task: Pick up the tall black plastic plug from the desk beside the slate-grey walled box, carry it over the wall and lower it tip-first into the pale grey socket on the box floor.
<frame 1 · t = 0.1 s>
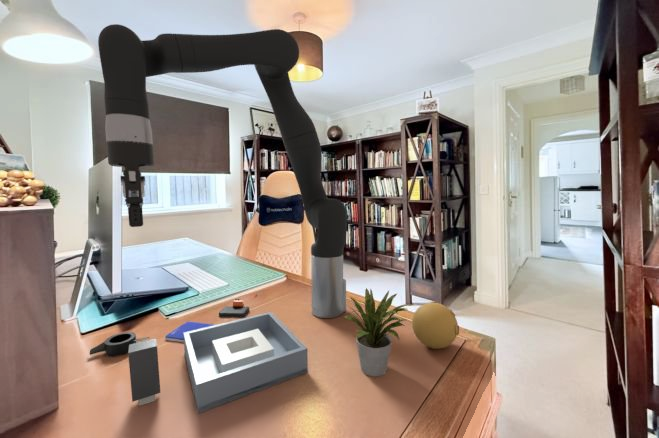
hand: (136, 224, 59), 29 cm above the table, tool pointing down, fingers open, 8 cm apart
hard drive: (198, 337, 73), on the table
walled box: (242, 362, 61), on the table
house plant: (373, 373, 58), on the table
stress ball: (434, 347, 67), on the table
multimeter: (237, 306, 92), on the table
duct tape: (121, 351, 67), on the table
plug: (147, 400, 51), on the table
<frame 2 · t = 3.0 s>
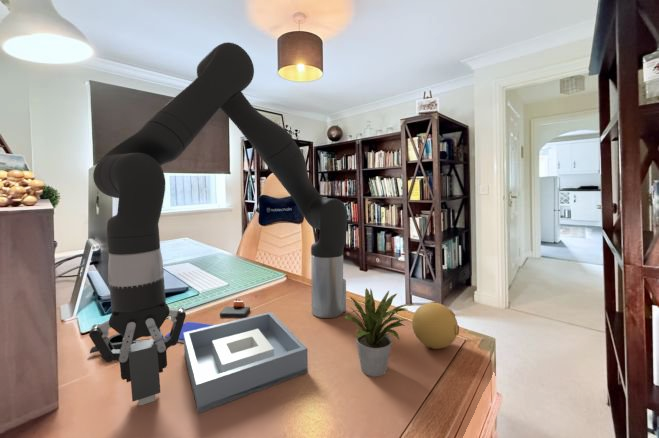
hand: (145, 374, 50), 5 cm above the table, tool pointing down, fingers closed on plug, 4 cm apart
plug: (147, 399, 51), on the table, touching gripper
everything else where it was.
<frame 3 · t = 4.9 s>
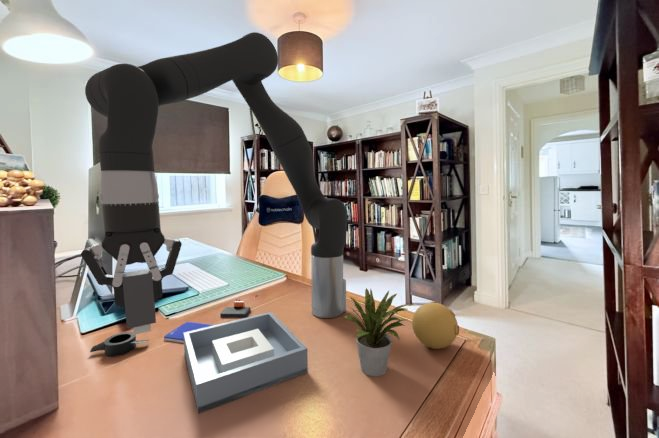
hand: (140, 303, 49), 17 cm above the table, tool pointing down, fingers closed on plug, 4 cm apart
plug: (142, 330, 49), point 13 cm above the table, touching gripper
everything else where it was.
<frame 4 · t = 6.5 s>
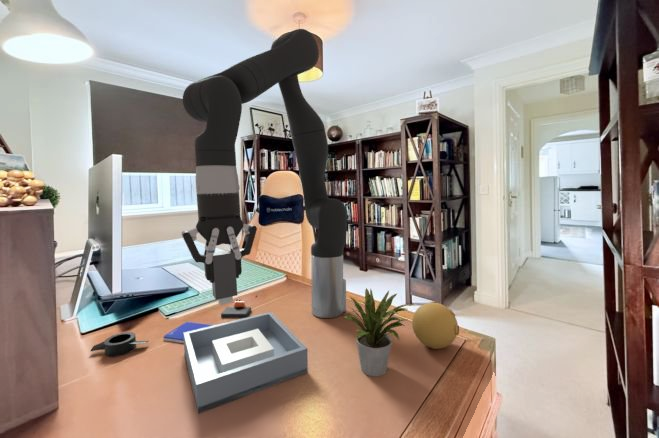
hand: (223, 279, 57), 19 cm above the table, tool pointing down, fingers closed on plug, 4 cm apart
plug: (225, 302, 58), point 14 cm above the table, touching gripper
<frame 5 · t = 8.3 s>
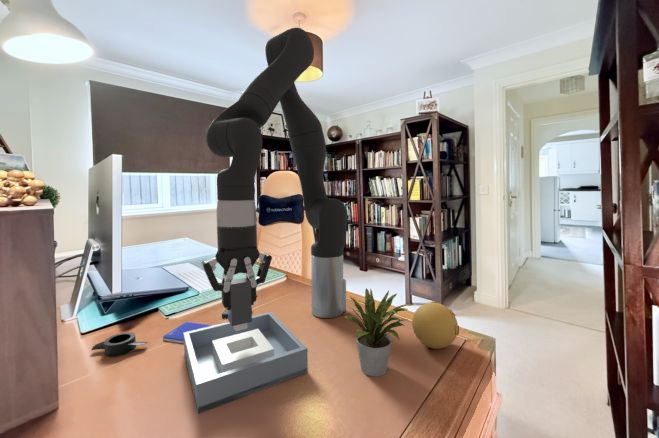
hand: (239, 305, 60), 12 cm above the table, tool pointing down, fingers closed on plug, 4 cm apart
plug: (240, 328, 60), point 8 cm above the table, touching gripper
when the fingers open (7 cm above the table, at t = 9.9 s): plug stays where it is, resting on walled box.
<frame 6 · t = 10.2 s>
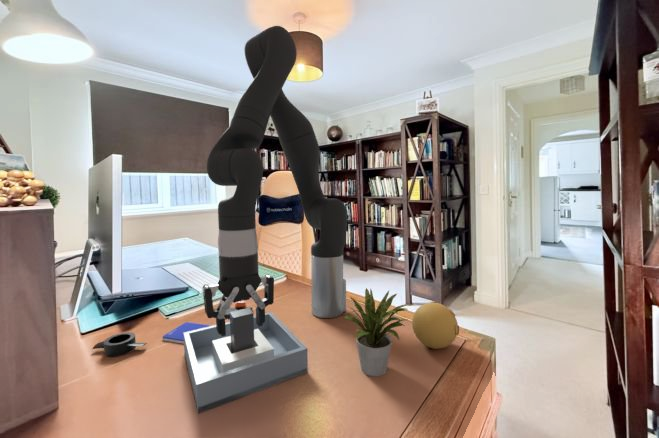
hand: (241, 329, 60), 7 cm above the table, tool pointing down, fingers open, 7 cm apart
plug: (243, 358, 61), point 1 cm above the table, touching walled box
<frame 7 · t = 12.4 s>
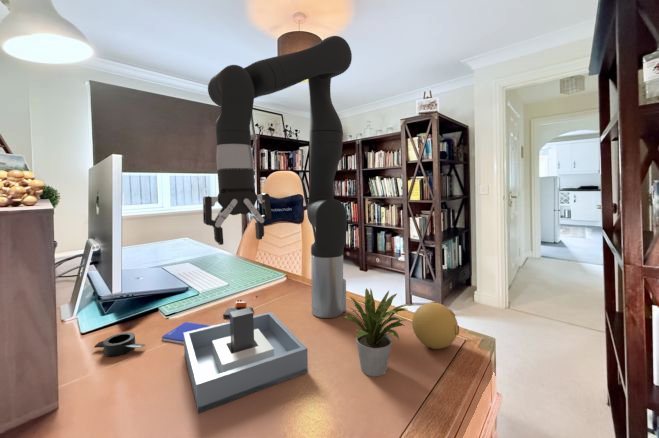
hand: (240, 241, 65), 24 cm above the table, tool pointing down, fingers open, 8 cm apart
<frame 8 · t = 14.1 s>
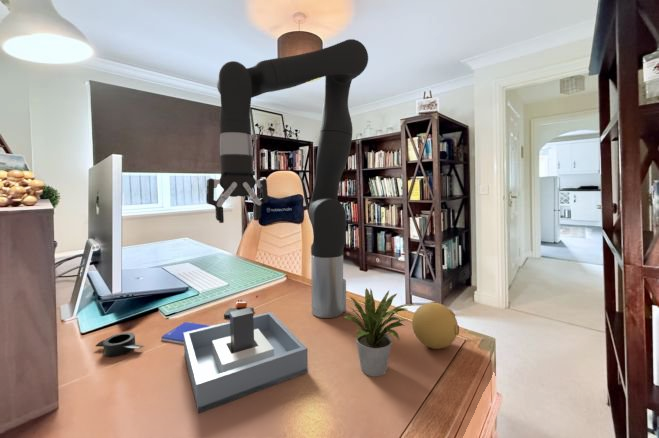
hand: (239, 221, 72), 28 cm above the table, tool pointing down, fingers open, 8 cm apart
at the end: plug 0.1 cm off-centre on the walled box, point 1.0 cm above the walled box's base; plug tilted 0°; the gripper is holding nothing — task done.
